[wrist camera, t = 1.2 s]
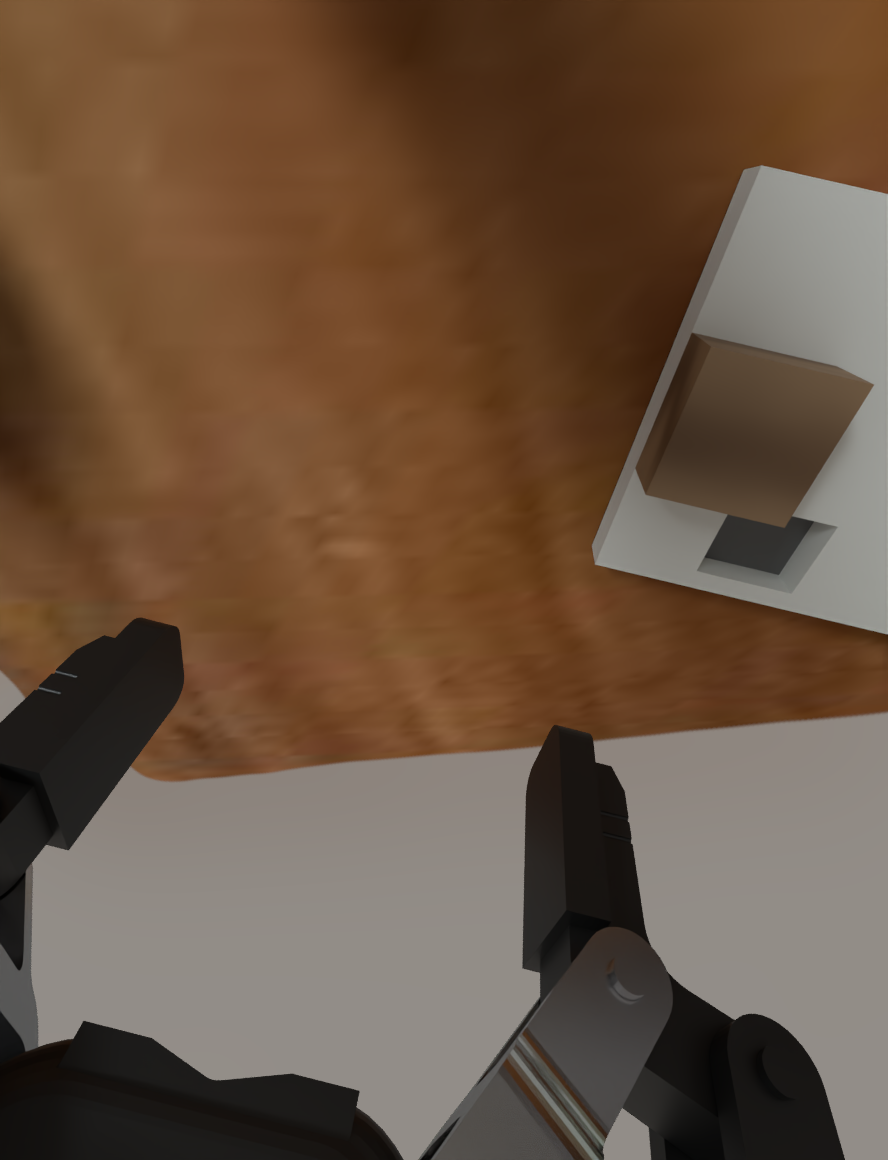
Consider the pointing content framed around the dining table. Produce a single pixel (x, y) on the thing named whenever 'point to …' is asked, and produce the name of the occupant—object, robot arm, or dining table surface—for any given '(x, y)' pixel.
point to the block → (746, 429)
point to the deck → (802, 329)
